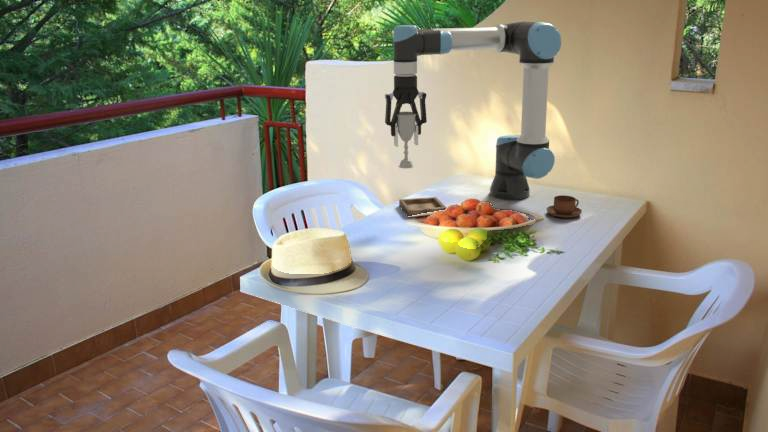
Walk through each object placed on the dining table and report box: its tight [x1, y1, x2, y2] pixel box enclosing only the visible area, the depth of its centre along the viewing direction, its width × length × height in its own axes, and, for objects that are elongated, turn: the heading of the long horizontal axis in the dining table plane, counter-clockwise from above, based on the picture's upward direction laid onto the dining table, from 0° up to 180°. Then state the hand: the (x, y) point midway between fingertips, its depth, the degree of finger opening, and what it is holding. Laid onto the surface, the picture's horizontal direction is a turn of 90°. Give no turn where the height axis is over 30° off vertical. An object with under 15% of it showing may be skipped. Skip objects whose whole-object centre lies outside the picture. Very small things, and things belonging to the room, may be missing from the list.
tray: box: [398, 196, 448, 217], centre depth 248 cm, size 14×14×2 cm
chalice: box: [396, 111, 416, 169], centre depth 230 cm, size 7×7×18 cm
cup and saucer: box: [546, 195, 583, 219], centre depth 242 cm, size 12×12×6 cm
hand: (406, 144), depth 230 cm, fingers closed on chalice, 6 cm apart
